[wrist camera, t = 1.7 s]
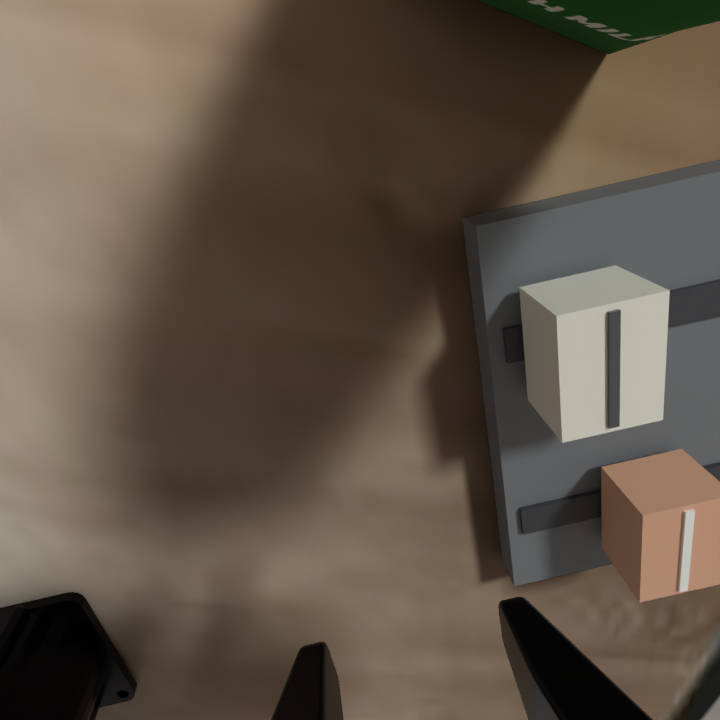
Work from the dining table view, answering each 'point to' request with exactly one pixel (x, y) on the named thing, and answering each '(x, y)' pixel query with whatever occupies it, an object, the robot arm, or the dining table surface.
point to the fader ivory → (595, 351)
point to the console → (507, 362)
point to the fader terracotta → (662, 524)
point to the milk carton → (612, 18)
